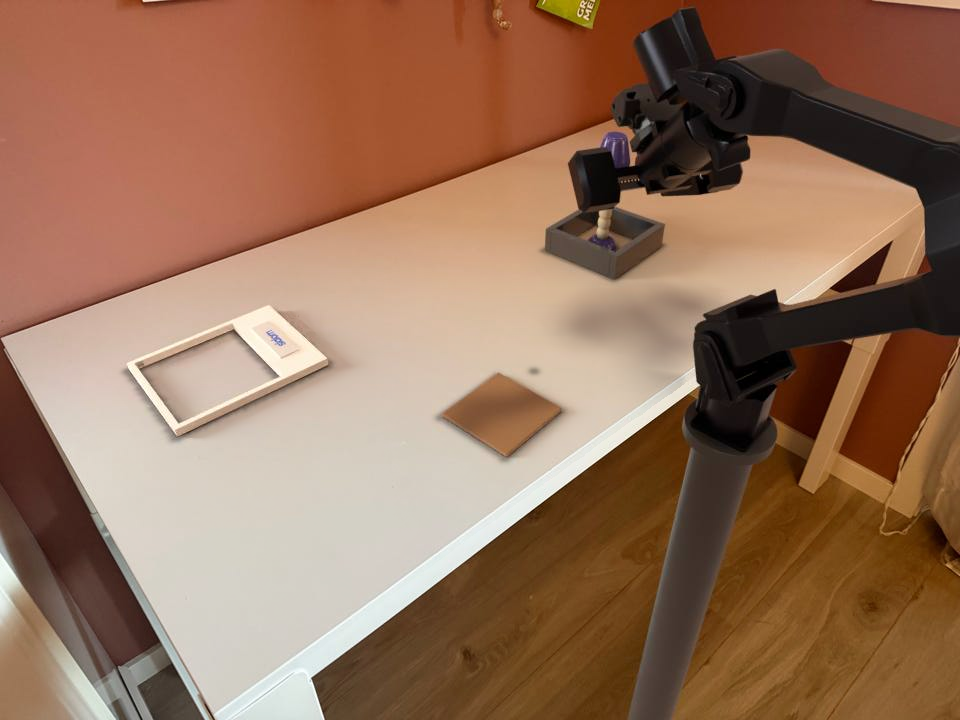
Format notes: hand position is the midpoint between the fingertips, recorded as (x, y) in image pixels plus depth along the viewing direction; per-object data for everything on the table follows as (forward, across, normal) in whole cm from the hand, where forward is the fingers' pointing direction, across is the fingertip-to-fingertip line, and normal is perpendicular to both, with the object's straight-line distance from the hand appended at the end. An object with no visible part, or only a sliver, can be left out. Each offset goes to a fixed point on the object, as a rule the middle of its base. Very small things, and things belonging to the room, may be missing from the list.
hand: (626, 197), depth 85 cm
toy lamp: (+18, -4, +2) cm, 18 cm away
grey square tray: (+18, -3, +2) cm, 18 cm away
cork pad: (-3, +21, +22) cm, 31 cm away
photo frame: (+9, +49, +10) cm, 51 cm away
